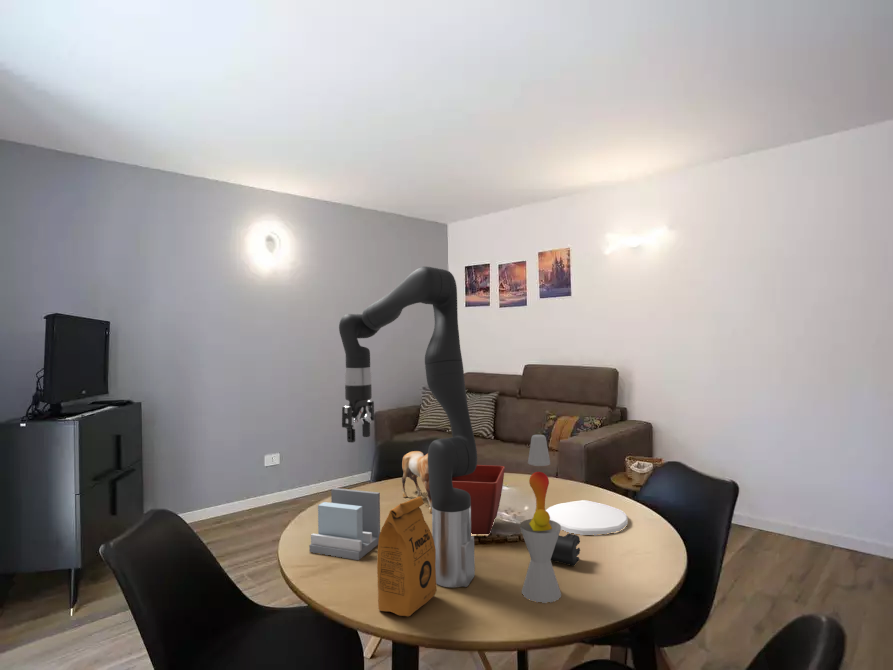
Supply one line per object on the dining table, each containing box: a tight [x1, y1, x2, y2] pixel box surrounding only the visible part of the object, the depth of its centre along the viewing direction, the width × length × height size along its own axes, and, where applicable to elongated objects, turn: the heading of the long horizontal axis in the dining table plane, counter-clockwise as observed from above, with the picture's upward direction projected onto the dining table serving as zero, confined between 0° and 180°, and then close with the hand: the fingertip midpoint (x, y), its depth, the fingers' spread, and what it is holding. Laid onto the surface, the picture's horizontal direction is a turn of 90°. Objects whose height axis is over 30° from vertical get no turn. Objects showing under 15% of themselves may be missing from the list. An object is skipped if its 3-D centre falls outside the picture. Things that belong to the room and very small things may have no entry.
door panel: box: [317, 501, 363, 544], centre depth 140 cm, size 12×3×10 cm, turn 69°
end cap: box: [551, 533, 581, 567], centre depth 132 cm, size 10×7×7 cm
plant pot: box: [452, 464, 506, 534], centre depth 155 cm, size 19×19×17 cm
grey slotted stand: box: [308, 487, 381, 561], centre depth 142 cm, size 15×12×14 cm
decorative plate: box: [545, 499, 629, 536], centre depth 160 cm, size 25×4×25 cm
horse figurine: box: [401, 450, 432, 514], centre depth 180 cm, size 31×8×21 cm, turn 28°
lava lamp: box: [519, 434, 562, 604], centre depth 115 cm, size 9×9×35 cm
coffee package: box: [376, 496, 437, 617], centre depth 111 cm, size 10×12×22 cm
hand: (359, 439), depth 150 cm, fingers open, 8 cm apart
